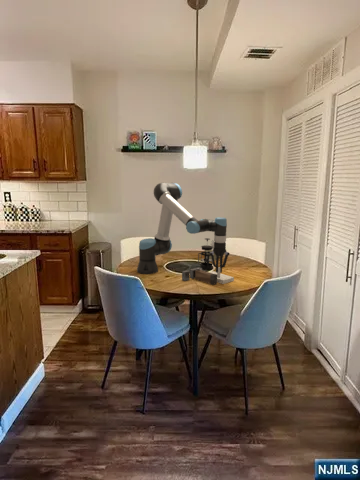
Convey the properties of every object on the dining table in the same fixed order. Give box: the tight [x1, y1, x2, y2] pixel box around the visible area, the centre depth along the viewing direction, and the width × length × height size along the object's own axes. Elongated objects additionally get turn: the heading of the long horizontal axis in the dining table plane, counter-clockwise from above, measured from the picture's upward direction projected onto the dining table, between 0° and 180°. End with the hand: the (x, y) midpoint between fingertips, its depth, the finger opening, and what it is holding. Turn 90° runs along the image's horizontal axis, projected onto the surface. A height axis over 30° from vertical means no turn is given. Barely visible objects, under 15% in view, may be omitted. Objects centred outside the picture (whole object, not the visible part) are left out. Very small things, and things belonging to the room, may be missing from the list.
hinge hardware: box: [181, 266, 203, 282], centre depth 218 cm, size 16×6×7 cm, turn 131°
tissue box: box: [204, 239, 220, 262], centre depth 278 cm, size 19×10×16 cm, turn 156°
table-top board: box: [208, 271, 235, 285], centre depth 218 cm, size 11×19×2 cm, turn 41°
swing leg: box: [195, 269, 218, 286], centre depth 212 cm, size 4×16×6 cm, turn 41°
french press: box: [197, 238, 214, 271], centre depth 243 cm, size 12×9×23 cm
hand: (218, 277), depth 210 cm, fingers closed
